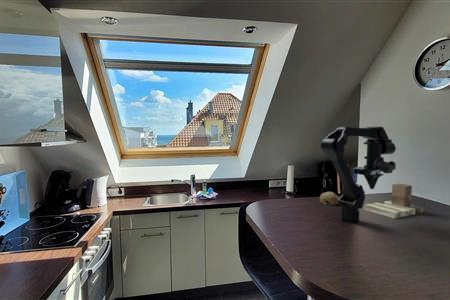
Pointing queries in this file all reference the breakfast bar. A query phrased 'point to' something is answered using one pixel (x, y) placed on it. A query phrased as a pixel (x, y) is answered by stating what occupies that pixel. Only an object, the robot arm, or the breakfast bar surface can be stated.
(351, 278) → the breakfast bar surface
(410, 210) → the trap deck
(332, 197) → the bread roll
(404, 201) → the walnut block
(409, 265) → the breakfast bar surface
